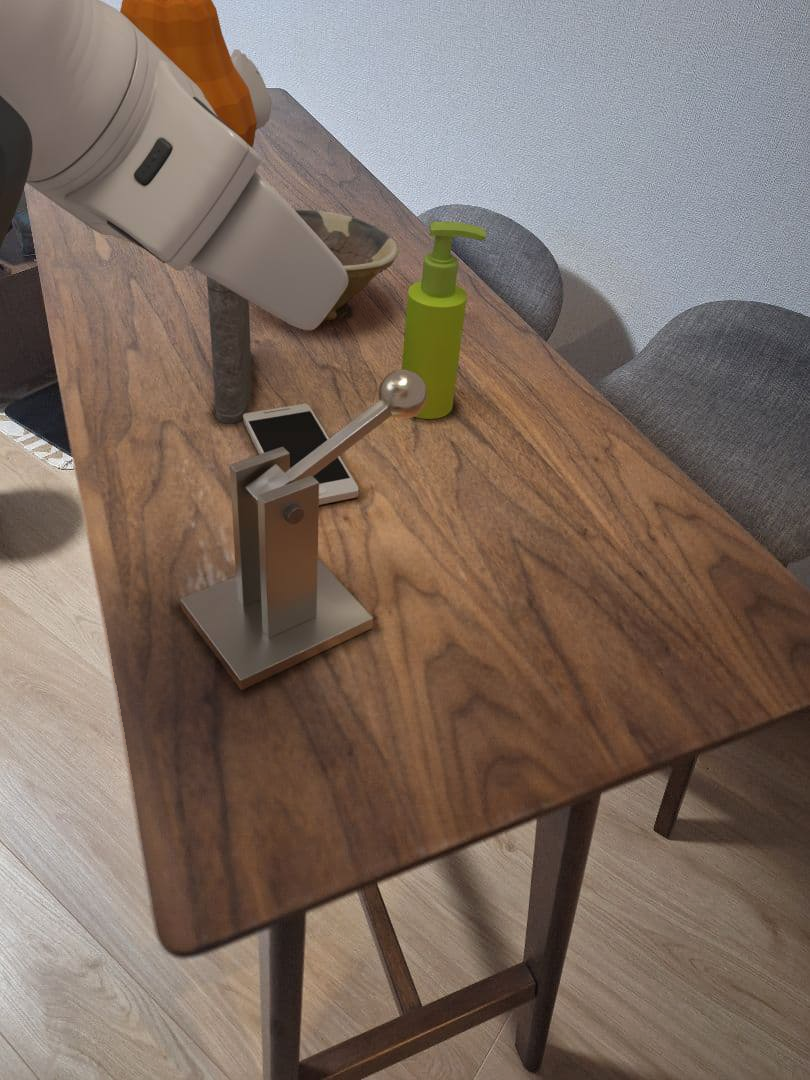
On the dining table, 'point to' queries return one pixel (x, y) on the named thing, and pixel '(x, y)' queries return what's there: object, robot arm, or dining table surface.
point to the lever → (352, 430)
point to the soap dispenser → (437, 319)
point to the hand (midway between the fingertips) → (293, 280)
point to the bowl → (352, 250)
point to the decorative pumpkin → (198, 54)
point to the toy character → (253, 86)
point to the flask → (230, 351)
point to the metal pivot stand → (274, 582)
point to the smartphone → (300, 446)
